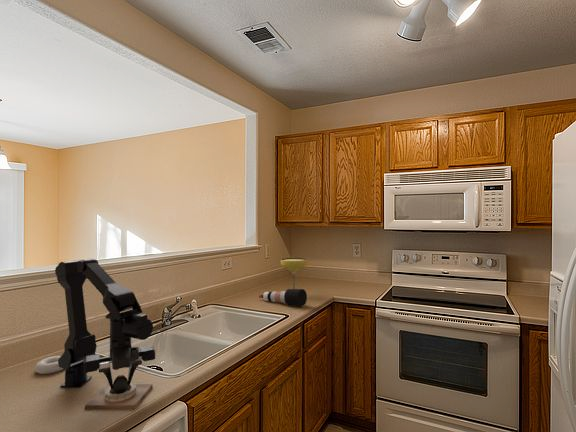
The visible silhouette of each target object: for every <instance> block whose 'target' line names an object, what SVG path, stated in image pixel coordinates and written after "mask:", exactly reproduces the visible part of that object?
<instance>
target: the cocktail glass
mask: <svg viewBox="0 0 576 432" xmlns="http://www.w3.org/2000/svg"><path fill="white" fill-rule="evenodd" d="M307 262H308V260H307V259H306V258H300V257H289V258H288V257H287V258H281V259H280V265H281V266H282V267H283V269H286V270H287V271H289V272H291V274H292V276H293V277H292V278H293V282H292V283H293V284H292V285H293V286H292V287H293V288H292V289H295V274H297V272H298V271H300V270H301V269H302V270H303V268H305V267H306V266H307Z"/></svg>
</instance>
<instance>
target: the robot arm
mask: <svg viewBox="0 0 576 432" xmlns="http://www.w3.org/2000/svg"><path fill="white" fill-rule="evenodd" d="M54 273H55V276H56V279H57V283H58V284H59V285H60V286H61V287H62V289H64V296H65V304H66V305H65V307H66V315H67V326H68V332H69V333H68V337H67V338H66V340H65V342H64V350H63V351H64V352H63V353H62V354H61V355H60V356H61V357H60V358H59V360H58V365H59V367H60V368H63V370H64V371H65V372H64V382H63V383H62V384H60V388H80V387H82V386H84V384H86V383H87V382H88V381H89V380H91V379H92V376H91V375H88V373H92V372H97V371H98V373H103V374H104V375H105V377H106V380H107V382H108V384H109V385H110V387H111V389H113V383H114V381H113V375H112V370H114V371H117V370H119V369H125V368H126V369H128V373H127V380H128V386H129V385H130V383H131V382H132V380H133V376H134V374H135V371H136V369H137V368H138V367H139V366H140V365H142V364H143V361H144V362H148V361H154V360H155V359H156V349H155V347H154V346H153V345H152V344H149V345H144V346H143V345H142V346H140V347H139V346H134V347H133V346H132V339H136V340H141V341H145V340H147V339H148V338H149V337H150V336H151V335H152V333H153V331H154V324H153V322H152V320H151V319H148V314H145V313H143V310H142V306H141V305H140V303H139V300H137V298H136V295H135V293H134V291H132V290H131V289H129V288H128V287H126V286H124V285H121V284H118V283H117V282H116V281H115V280H114V279H113V278H112V277H111V275H110V274H108V272H107V271H106V270H105V269H104V268H103V267H102V266H101V265H100V264H99V261H98V260H97V259H96V258H87V259H86V258H85V259H77V260H68V261H67V260H66V261H59V263H58V264H57V265H56V267H55V270H54ZM86 280H88V281H89V282H90V283H91V284H92V285H93V286H94V287H95V289H96V290H97V291H98V292H99V293H100V294H101V296H102V304H103V306H104V307H105V309H106V310H107V311H108V313H107V314H106V315H105V317H104V318H105V319H108V320H109V356H103V357H100V355H101V354H100V353H97V354H96V352H97V347H98V346H97V343H96V336H95V334H91V332H89V331H88V323H87V316H86V315H87V314H86V307H85V298H84V290H83V289H84V288H83V286H84V284H85V282H86ZM142 313H143V314H142Z"/></svg>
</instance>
